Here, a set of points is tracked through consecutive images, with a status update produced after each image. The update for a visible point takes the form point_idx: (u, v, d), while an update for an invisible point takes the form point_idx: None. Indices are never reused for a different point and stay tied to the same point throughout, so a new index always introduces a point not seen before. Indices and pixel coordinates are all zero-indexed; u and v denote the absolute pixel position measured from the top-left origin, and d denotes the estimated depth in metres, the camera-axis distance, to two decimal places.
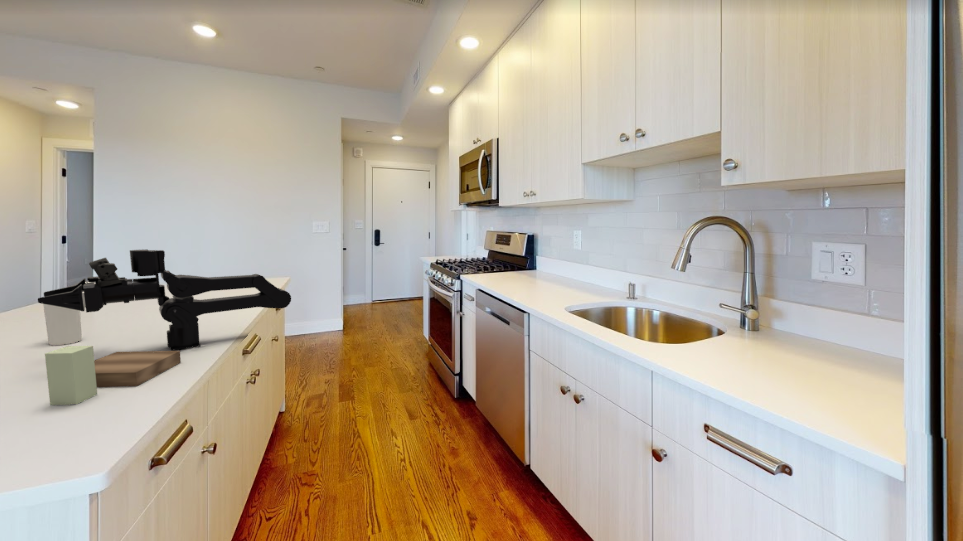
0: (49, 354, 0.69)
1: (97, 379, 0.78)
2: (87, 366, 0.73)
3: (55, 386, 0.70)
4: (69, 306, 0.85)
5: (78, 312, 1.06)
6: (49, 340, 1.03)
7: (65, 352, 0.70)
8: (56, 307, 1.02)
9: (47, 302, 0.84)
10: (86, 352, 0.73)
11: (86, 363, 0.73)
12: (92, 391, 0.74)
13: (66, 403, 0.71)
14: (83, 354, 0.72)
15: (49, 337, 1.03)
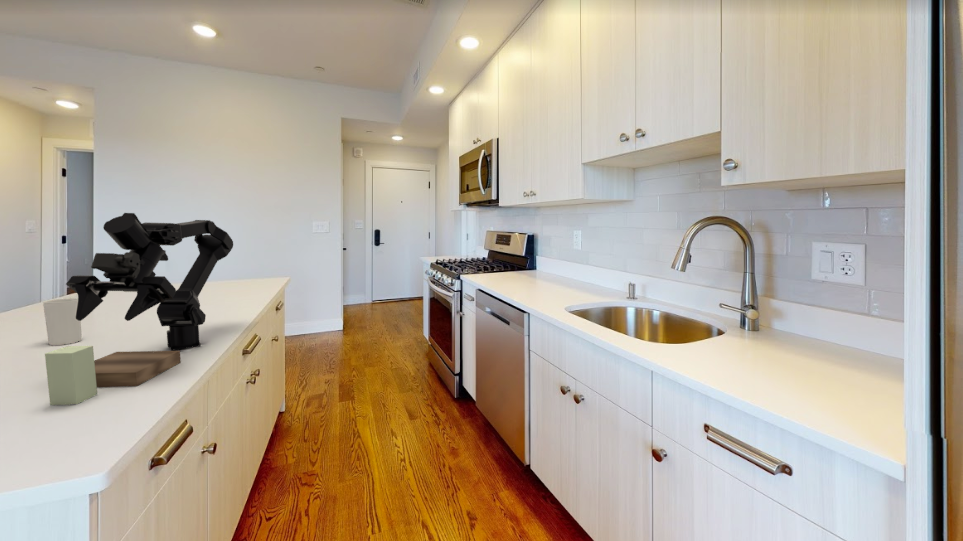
0: (49, 354, 0.69)
1: (97, 379, 0.78)
2: (87, 366, 0.73)
3: (55, 386, 0.70)
4: (150, 305, 0.84)
5: None
6: (49, 340, 1.03)
7: (65, 352, 0.70)
8: (56, 307, 1.02)
9: (134, 315, 0.81)
10: (86, 352, 0.73)
11: (86, 363, 0.73)
12: (92, 391, 0.74)
13: (66, 403, 0.71)
14: (83, 354, 0.72)
15: (49, 337, 1.03)
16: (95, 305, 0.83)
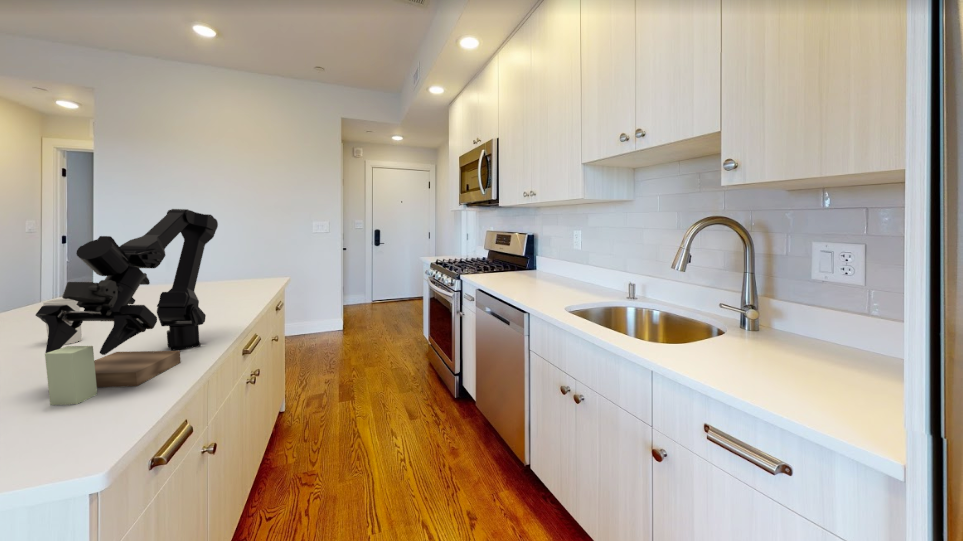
0: (49, 354, 0.69)
1: (97, 379, 0.78)
2: (87, 366, 0.73)
3: (55, 386, 0.70)
4: (128, 337, 0.78)
5: None
6: None
7: (65, 352, 0.70)
8: None
9: (111, 348, 0.75)
10: (86, 352, 0.73)
11: (86, 363, 0.73)
12: (92, 391, 0.74)
13: (66, 403, 0.71)
14: (83, 354, 0.72)
15: None
16: (68, 337, 0.77)
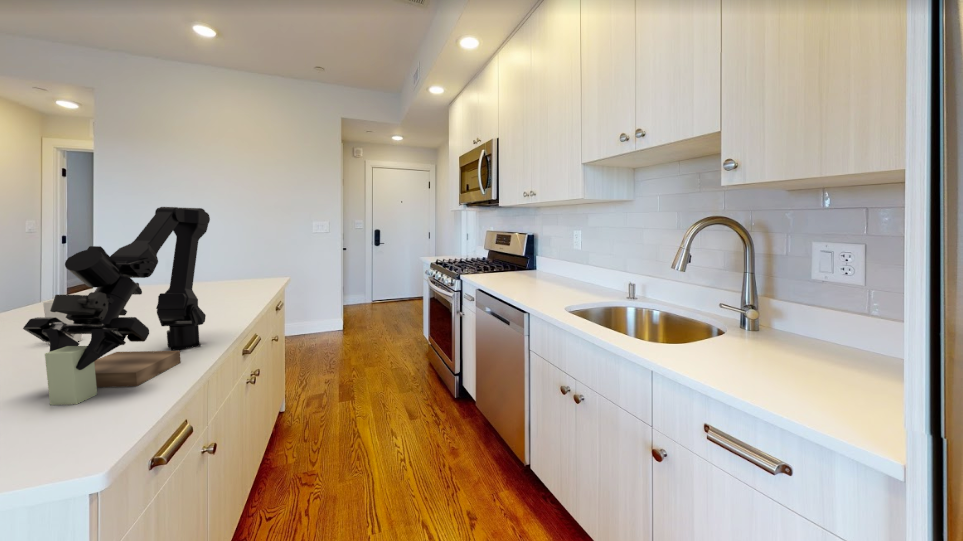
0: (49, 354, 0.69)
1: (97, 379, 0.78)
2: None
3: (55, 386, 0.70)
4: (107, 350, 0.76)
5: None
6: None
7: (65, 352, 0.70)
8: None
9: (88, 363, 0.72)
10: None
11: None
12: (92, 391, 0.74)
13: (66, 403, 0.71)
14: None
15: None
16: None
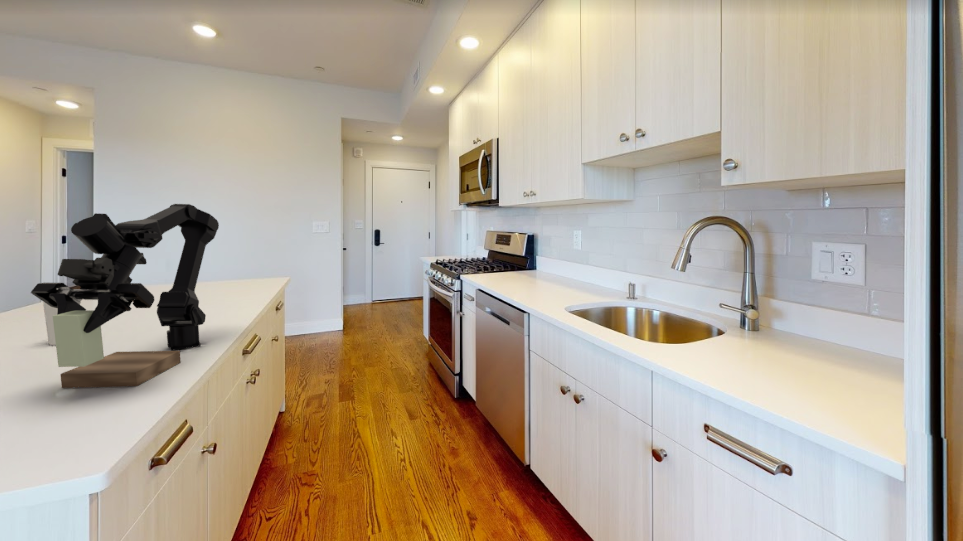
0: (57, 316, 0.71)
1: (97, 379, 0.78)
2: None
3: (63, 348, 0.72)
4: (113, 315, 0.77)
5: None
6: (49, 340, 1.03)
7: (72, 315, 0.72)
8: None
9: (95, 326, 0.74)
10: None
11: None
12: (99, 355, 0.76)
13: (74, 365, 0.72)
14: None
15: (49, 337, 1.03)
16: None
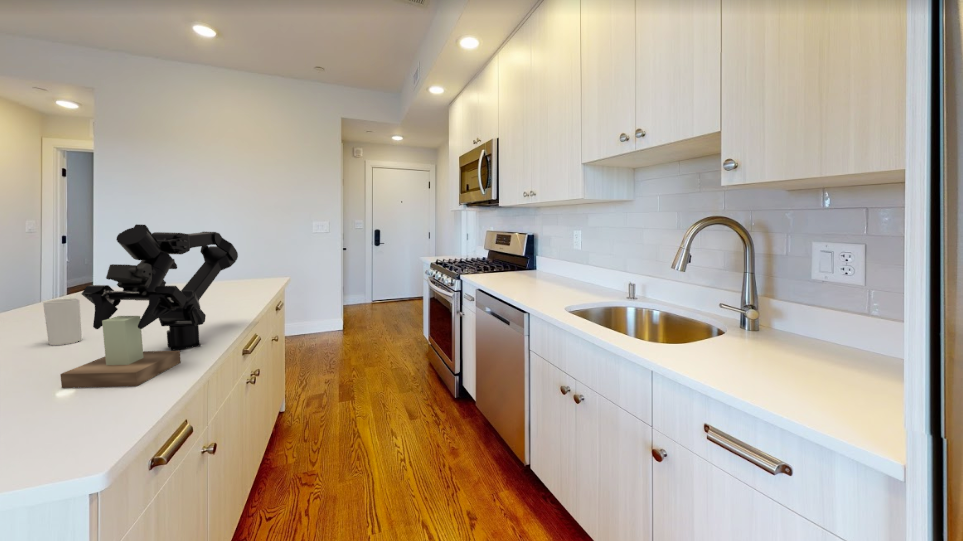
0: (105, 321, 0.82)
1: (97, 379, 0.78)
2: (135, 332, 0.85)
3: (110, 349, 0.82)
4: (161, 314, 0.88)
5: (78, 312, 1.06)
6: (49, 340, 1.03)
7: (119, 320, 0.82)
8: (56, 307, 1.02)
9: (146, 323, 0.85)
10: (135, 321, 0.85)
11: (135, 330, 0.85)
12: (139, 355, 0.86)
13: (119, 363, 0.83)
14: (133, 322, 0.84)
15: (49, 337, 1.03)
16: (110, 314, 0.87)
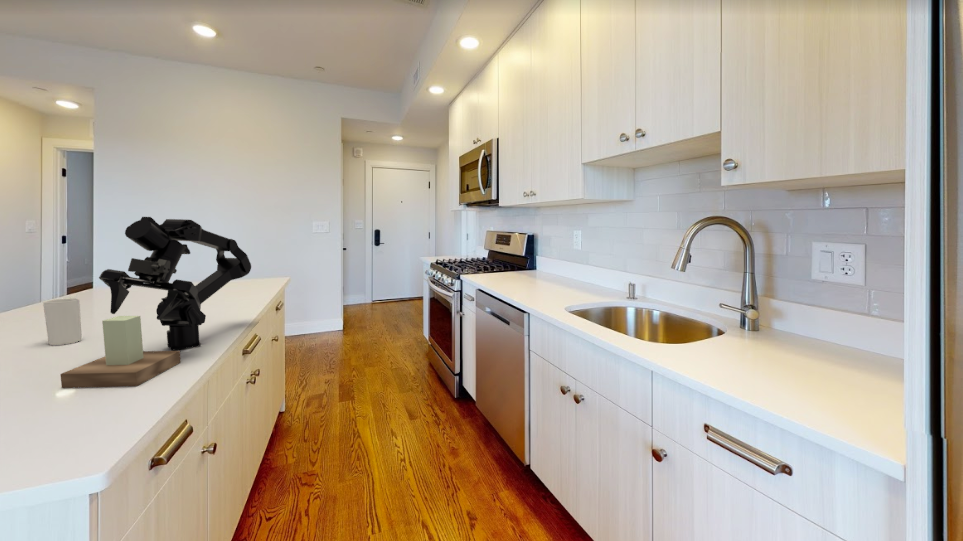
0: (106, 321, 0.82)
1: (97, 379, 0.78)
2: (136, 332, 0.85)
3: (110, 349, 0.82)
4: (176, 305, 0.96)
5: (78, 312, 1.06)
6: (49, 340, 1.03)
7: (119, 320, 0.82)
8: (56, 307, 1.02)
9: (164, 315, 0.93)
10: (135, 321, 0.85)
11: (135, 330, 0.85)
12: (139, 355, 0.86)
13: (119, 363, 0.83)
14: (133, 322, 0.84)
15: (49, 337, 1.03)
16: (123, 298, 0.93)
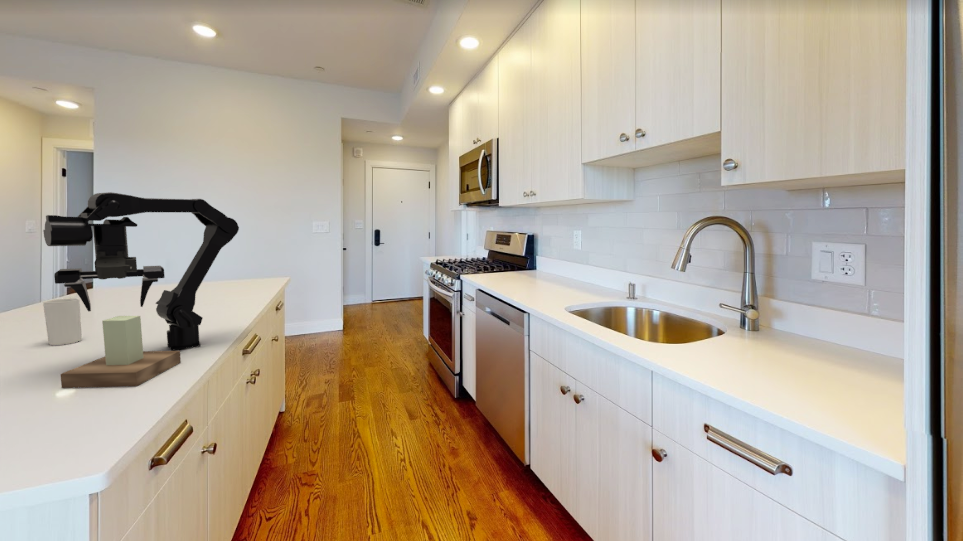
0: (106, 321, 0.82)
1: (97, 379, 0.78)
2: (136, 332, 0.85)
3: (110, 349, 0.82)
4: None
5: (78, 312, 1.06)
6: (49, 340, 1.03)
7: (119, 320, 0.82)
8: (56, 307, 1.02)
9: None
10: (135, 321, 0.85)
11: (135, 330, 0.85)
12: (139, 355, 0.86)
13: (119, 363, 0.83)
14: (133, 322, 0.84)
15: (49, 337, 1.03)
16: (86, 290, 0.90)
